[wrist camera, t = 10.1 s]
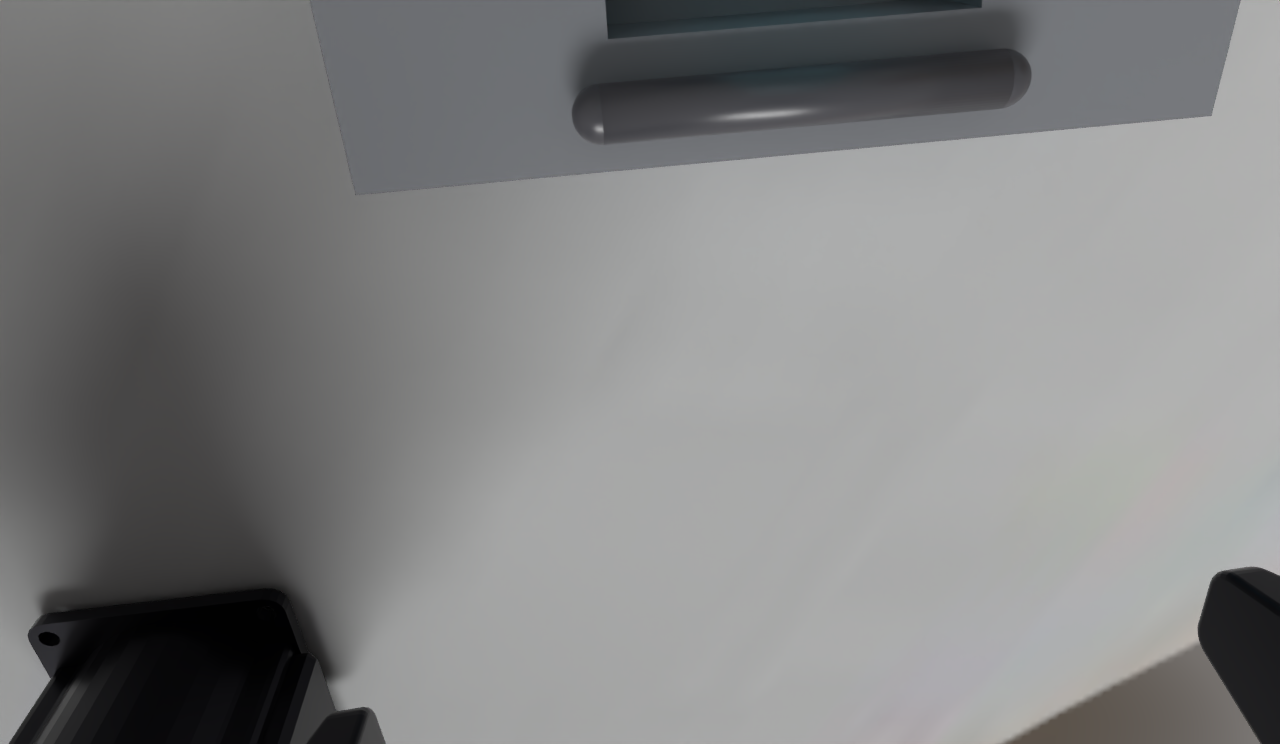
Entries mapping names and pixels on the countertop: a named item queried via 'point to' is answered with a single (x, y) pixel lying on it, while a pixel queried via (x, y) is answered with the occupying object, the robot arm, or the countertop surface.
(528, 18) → the outlet plate
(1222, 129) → the countertop surface
